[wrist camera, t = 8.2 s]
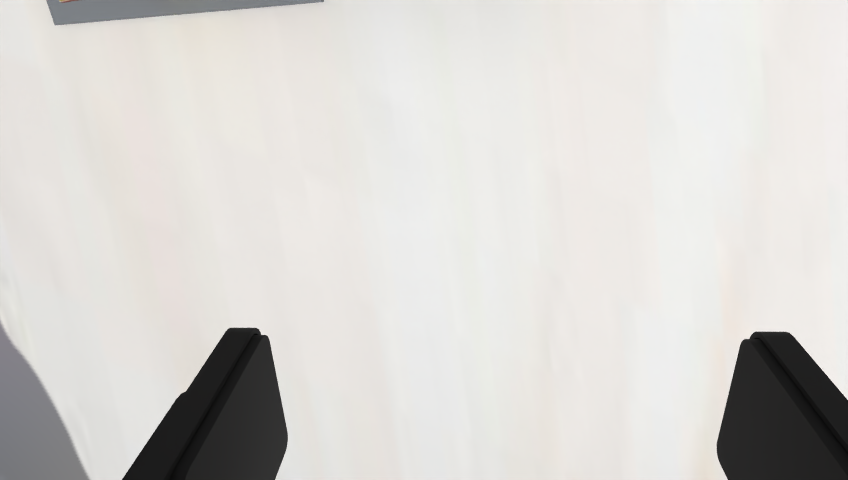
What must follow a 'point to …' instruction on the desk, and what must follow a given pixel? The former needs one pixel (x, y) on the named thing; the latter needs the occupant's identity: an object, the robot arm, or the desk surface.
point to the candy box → (66, 1)
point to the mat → (148, 8)
